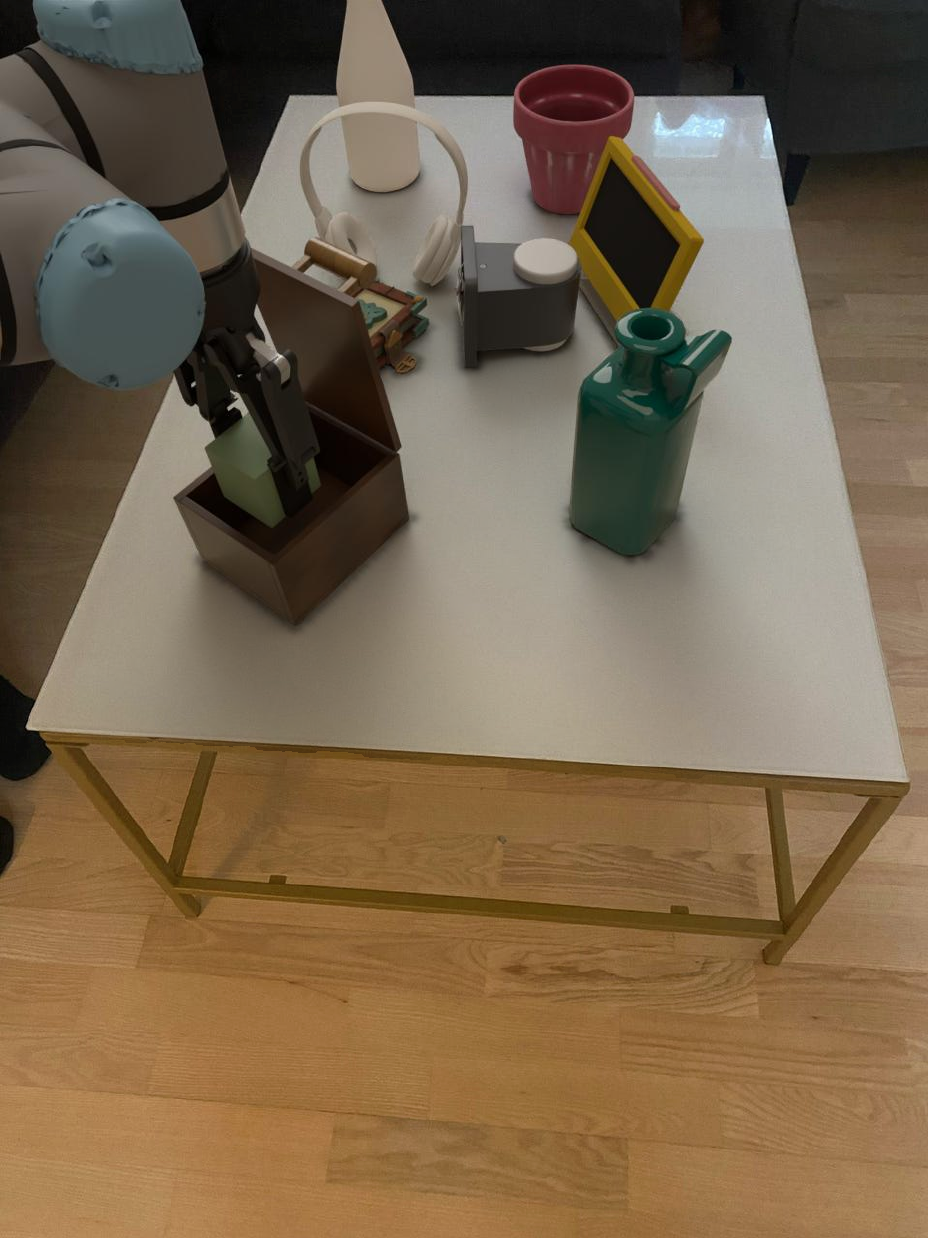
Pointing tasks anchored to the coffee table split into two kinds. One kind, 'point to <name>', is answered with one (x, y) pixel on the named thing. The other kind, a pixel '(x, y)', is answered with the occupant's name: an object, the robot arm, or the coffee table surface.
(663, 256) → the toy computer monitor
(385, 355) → the decorative book
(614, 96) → the flower pot
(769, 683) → the coffee table surface
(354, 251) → the headphones
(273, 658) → the coffee table surface
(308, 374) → the bin lid
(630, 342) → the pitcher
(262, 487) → the block
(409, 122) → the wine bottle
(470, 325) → the light fixture
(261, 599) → the bin
